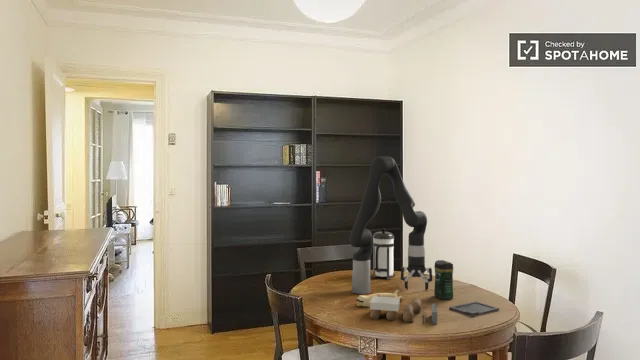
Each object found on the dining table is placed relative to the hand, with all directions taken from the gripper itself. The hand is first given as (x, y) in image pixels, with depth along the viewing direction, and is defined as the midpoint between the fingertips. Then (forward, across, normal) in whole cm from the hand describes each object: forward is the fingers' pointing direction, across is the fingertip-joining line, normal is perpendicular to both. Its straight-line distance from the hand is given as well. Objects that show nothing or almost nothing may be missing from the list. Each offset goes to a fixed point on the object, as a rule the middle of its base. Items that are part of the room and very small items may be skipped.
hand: (416, 289), depth 206 cm
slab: (+5, -13, -13) cm, 19 cm away
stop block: (+9, +8, -13) cm, 17 cm away
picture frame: (+10, +26, +6) cm, 28 cm away
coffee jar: (+9, +13, +24) cm, 29 cm away
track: (+9, -8, -13) cm, 17 cm away
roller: (+9, 0, 0) cm, 9 cm away
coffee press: (+8, -21, +59) cm, 64 cm away
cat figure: (+9, -18, +6) cm, 21 cm away
